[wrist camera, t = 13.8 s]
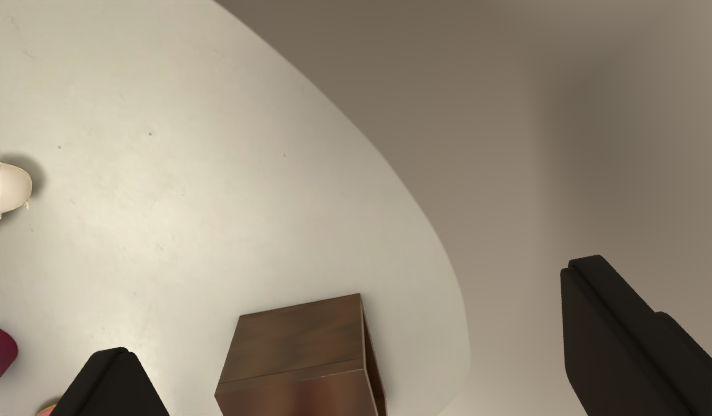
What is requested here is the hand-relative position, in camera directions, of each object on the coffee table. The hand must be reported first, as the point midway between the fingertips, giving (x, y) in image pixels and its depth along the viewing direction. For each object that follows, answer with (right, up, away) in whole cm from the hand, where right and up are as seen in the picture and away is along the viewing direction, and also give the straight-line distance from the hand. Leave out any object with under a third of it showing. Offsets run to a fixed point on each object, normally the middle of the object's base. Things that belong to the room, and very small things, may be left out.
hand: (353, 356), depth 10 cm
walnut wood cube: (-4, -12, +38) cm, 40 cm away
